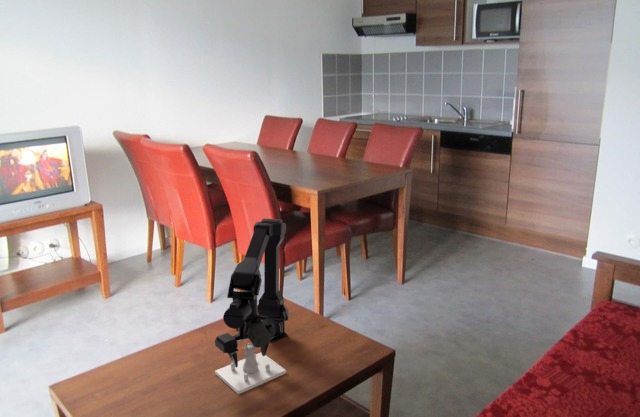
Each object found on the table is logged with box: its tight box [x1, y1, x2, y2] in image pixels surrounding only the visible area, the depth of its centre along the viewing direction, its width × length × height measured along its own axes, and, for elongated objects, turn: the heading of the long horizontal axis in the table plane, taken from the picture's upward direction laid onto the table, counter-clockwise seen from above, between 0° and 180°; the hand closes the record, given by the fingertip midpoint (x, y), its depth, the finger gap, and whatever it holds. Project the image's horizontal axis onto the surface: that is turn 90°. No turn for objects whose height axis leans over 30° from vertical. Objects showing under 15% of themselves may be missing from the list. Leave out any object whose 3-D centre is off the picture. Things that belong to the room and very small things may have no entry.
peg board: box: [214, 351, 287, 395], centre depth 157 cm, size 16×13×3 cm
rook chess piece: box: [243, 342, 258, 374], centre depth 156 cm, size 4×4×8 cm
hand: (249, 361), depth 156 cm, fingers open, 9 cm apart
